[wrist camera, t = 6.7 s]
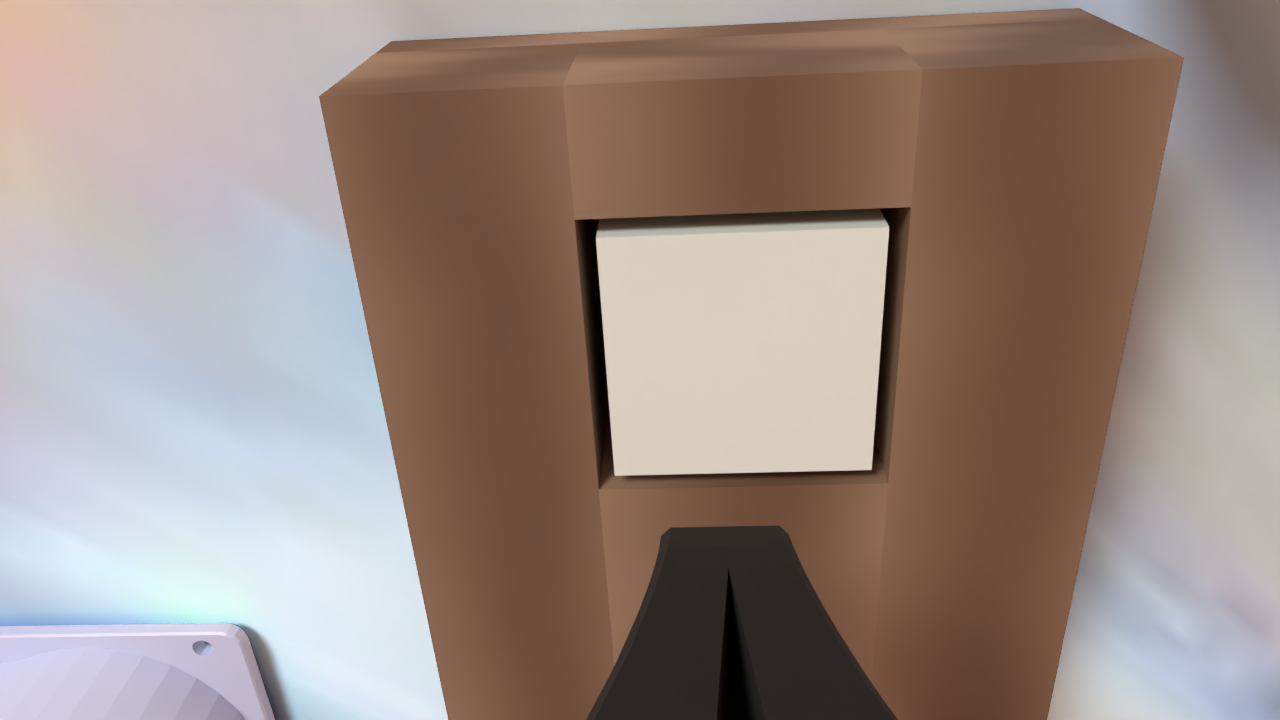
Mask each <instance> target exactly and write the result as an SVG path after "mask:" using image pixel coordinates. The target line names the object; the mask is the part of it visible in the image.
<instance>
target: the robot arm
mask: <svg viewBox="0 0 1280 720" xmlns="http://www.w3.org/2000/svg"><path fill="white" fill-rule="evenodd" d="M203 641H205V642H207V643H209V644H206V643H205V642H203ZM210 644H211V645H210ZM0 720H275V718H274V715H273V712H272V708H271V705H270V702H269V699H268V696H267V693H266V690H265V687H264V684H263V681H262V678H261V675H260V672H259V669H258V666H257V663H256V660H255V657H254V653H253V650H252V647H251V644H250V641H249V638H248V636H247V635H246V633H245V632H244V631H243V630H242V629H241V628H240V627H238V626H236V625H233V624H228V623H188V624H118V625H48V626H0ZM586 720H898V719H897V718H896V716H895V715H894V713H893V712H892V711H891V709H890V708H889V707H888V705H887V704H886V703H885V701H884V700H883V698H882V697H881V696H880V694H879V693H878V691H877V690H876V688H875V687H874V686H873V684H872V683H871V681H870V680H869V678H868V677H867V675H866V674H865V672H864V671H863V669H862V668H861V666H860V665H859V663H858V662H857V660H856V658H855V657H854V655H853V654H852V652H851V651H850V649H849V647H848V646H847V644H846V643H845V641H844V640H843V638H842V636H841V635H840V633H839V632H838V630H837V629H836V627H835V625H834V624H833V622H832V620H831V618H830V617H829V615H828V613H827V612H826V610H825V608H824V606H823V605H822V603H821V601H820V599H819V597H818V595H817V594H816V592H815V590H814V588H813V586H812V585H811V583H810V581H809V579H808V577H807V575H806V573H805V571H804V569H803V567H802V565H801V563H800V560H799V558H798V556H797V554H796V551H795V549H794V547H793V544H792V542H791V539H790V536H789V534H788V533H787V532H786V531H785V530H784V529H783V528H781V527H780V526H779V525H778V526H724V527H671V528H670V529H668V530H667V531H666V532H665V533H664V534H663V535H661V539H660V546H659V551H658V555H657V559H656V563H655V566H654V570H653V573H652V576H651V579H650V582H649V585H648V588H647V591H646V593H645V596H644V599H643V601H642V604H641V607H640V609H639V612H638V614H637V616H636V619H635V621H634V623H633V626H632V628H631V630H630V632H629V635H628V637H627V639H626V641H625V644H624V646H623V648H622V650H621V653H620V655H619V657H618V659H617V661H616V664H615V666H614V668H613V670H612V672H611V674H610V676H609V678H608V679H607V681H606V683H605V685H604V687H603V689H602V691H601V693H600V694H599V696H598V698H597V700H596V702H595V704H594V706H593V708H592V710H591V711H590V713H589V715H588V717H587V719H586Z"/></svg>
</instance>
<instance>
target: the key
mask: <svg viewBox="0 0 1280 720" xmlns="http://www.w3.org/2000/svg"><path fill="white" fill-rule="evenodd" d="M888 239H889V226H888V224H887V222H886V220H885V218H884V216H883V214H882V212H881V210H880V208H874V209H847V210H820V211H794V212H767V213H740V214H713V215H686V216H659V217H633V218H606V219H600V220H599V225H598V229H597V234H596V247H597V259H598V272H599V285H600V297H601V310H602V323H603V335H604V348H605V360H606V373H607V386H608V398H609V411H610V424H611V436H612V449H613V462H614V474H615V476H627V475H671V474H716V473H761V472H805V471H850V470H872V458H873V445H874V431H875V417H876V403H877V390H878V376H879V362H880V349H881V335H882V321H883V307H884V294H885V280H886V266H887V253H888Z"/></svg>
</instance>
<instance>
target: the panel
mask: <svg viewBox="0 0 1280 720" xmlns="http://www.w3.org/2000/svg"><path fill="white" fill-rule="evenodd" d="M1183 59H1184V57H1182V56H1180V55H1177V54H1175V53H1173V52H1171V51H1169V50H1167V49H1165V48H1162V47H1160V46H1158V45H1156V44H1154V43H1152V42H1150V41H1148V40H1145V39H1143V38H1141V37H1139V36H1137V35H1135V34H1133V33H1131V32H1128V31H1126V30H1124V29H1122V28H1120V27H1118V26H1116V25H1114V24H1111V23H1109V22H1107V21H1105V20H1103V19H1101V18H1099V17H1096V16H1094V15H1092V14H1090V13H1088V12H1086V11H1084V10H1082V9H1079V8H1076V9H1056V10H1035V11H1014V12H993V13H972V14H952V15H931V16H910V17H889V18H868V19H848V20H827V21H806V22H785V23H764V24H744V25H723V26H702V27H681V28H660V29H640V30H619V31H598V32H577V33H556V34H536V35H515V36H494V37H473V38H452V39H432V40H411V41H391V42H390V43H389V44H387V45H386V46H385V47H383V48H382V49H381V50H379V51H378V52H377V53H375V54H374V55H373V56H371V57H370V58H369V59H368V60H366V61H365V62H364V63H362V64H361V65H360V66H358V67H357V68H356V69H354V70H353V71H352V72H351V73H349V74H348V75H347V76H345V77H344V78H343V79H341V80H340V81H339V82H337V83H336V84H335V85H333V86H332V87H331V88H330V89H328V90H327V91H326V92H324V93H323V94H322V95H320V96H319V98H320V103H321V108H322V113H323V117H324V122H325V127H326V132H327V137H328V142H329V146H330V151H331V156H332V161H333V166H334V170H335V175H336V180H337V185H338V190H339V195H340V199H341V204H342V209H343V214H344V219H345V224H346V228H347V233H348V238H349V243H350V248H351V252H352V257H353V262H354V267H355V272H356V277H357V281H358V286H359V291H360V296H361V301H362V305H363V310H364V315H365V320H366V325H367V330H368V334H369V339H370V344H371V349H372V354H373V358H374V363H375V368H376V373H377V378H378V383H379V387H380V392H381V397H382V402H383V407H384V411H385V416H386V421H387V426H388V431H389V436H390V440H391V445H392V450H393V455H394V460H395V465H396V469H397V474H398V479H399V484H400V489H401V493H402V498H403V503H404V508H405V513H406V518H407V522H408V527H409V532H410V537H411V542H412V546H413V551H414V556H415V561H416V566H417V571H418V575H419V580H420V585H421V590H422V595H423V599H424V604H425V609H426V614H427V619H428V624H429V628H430V633H431V638H432V643H433V648H434V652H435V657H436V662H437V667H438V672H439V677H440V681H441V686H442V691H443V696H444V701H445V705H446V710H447V715H448V720H586V719H587V717H588V715H589V713H590V711H591V710H592V708H593V706H594V704H595V702H596V700H597V698H598V696H599V694H600V693H601V691H602V689H603V687H604V685H605V683H606V681H607V679H608V678H609V676H610V674H611V672H612V670H613V668H614V666H615V664H616V661H617V659H618V657H619V655H620V653H621V650H622V648H623V646H624V644H625V641H626V639H627V637H628V635H629V632H630V630H631V628H632V626H633V623H634V621H635V619H636V616H637V614H638V612H639V609H640V607H641V604H642V601H643V599H644V596H645V593H646V591H647V588H648V585H649V582H650V579H651V576H652V573H653V570H654V566H655V563H656V559H657V555H658V551H659V546H660V539H661V535H663V534H664V533H665V532H666V531H667V530H668V529H670V528H671V527H724V526H778V525H779V526H780V527H781V528H783V529H784V530H785V531H786V532H787V533H788V534H789V536H790V539H791V542H792V544H793V547H794V549H795V551H796V554H797V556H798V558H799V560H800V563H801V565H802V567H803V569H804V571H805V573H806V575H807V577H808V579H809V581H810V583H811V585H812V586H813V588H814V590H815V592H816V594H817V595H818V597H819V599H820V601H821V603H822V605H823V606H824V608H825V610H826V612H827V613H828V615H829V617H830V618H831V620H832V622H833V624H834V625H835V627H836V629H837V630H838V632H839V633H840V635H841V636H842V638H843V640H844V641H845V643H846V644H847V646H848V647H849V649H850V651H851V652H852V654H853V655H854V657H855V658H856V660H857V662H858V663H859V665H860V666H861V668H862V669H863V671H864V672H865V674H866V675H867V677H868V678H869V680H870V681H871V683H872V684H873V686H874V687H875V688H876V690H877V691H878V693H879V694H880V696H881V697H882V698H883V700H884V701H885V703H886V704H887V705H888V707H889V708H890V709H891V711H892V712H893V713H894V715H895V716H896V718H897V719H898V720H1047V717H1048V712H1049V707H1050V702H1051V697H1052V692H1053V687H1054V683H1055V678H1056V673H1057V668H1058V663H1059V658H1060V654H1061V649H1062V644H1063V639H1064V634H1065V629H1066V625H1067V620H1068V615H1069V610H1070V605H1071V600H1072V596H1073V591H1074V586H1075V581H1076V576H1077V571H1078V567H1079V562H1080V557H1081V552H1082V547H1083V542H1084V538H1085V533H1086V528H1087V523H1088V518H1089V513H1090V509H1091V504H1092V499H1093V494H1094V489H1095V484H1096V480H1097V475H1098V470H1099V465H1100V460H1101V455H1102V450H1103V446H1104V441H1105V436H1106V431H1107V426H1108V421H1109V417H1110V412H1111V407H1112V402H1113V397H1114V392H1115V388H1116V383H1117V378H1118V373H1119V368H1120V363H1121V359H1122V354H1123V349H1124V344H1125V339H1126V334H1127V330H1128V325H1129V320H1130V315H1131V310H1132V305H1133V301H1134V296H1135V291H1136V286H1137V281H1138V276H1139V272H1140V267H1141V262H1142V257H1143V252H1144V247H1145V243H1146V238H1147V233H1148V228H1149V223H1150V218H1151V213H1152V209H1153V204H1154V199H1155V194H1156V189H1157V184H1158V180H1159V175H1160V170H1161V165H1162V160H1163V155H1164V151H1165V146H1166V141H1167V136H1168V131H1169V126H1170V122H1171V117H1172V112H1173V107H1174V102H1175V97H1176V93H1177V88H1178V83H1179V78H1180V73H1181V68H1182V64H1183ZM874 208H880V210H881V212H882V214H883V216H884V218H885V220H886V222H887V224H888V226H889V239H888V253H887V266H886V280H885V294H884V307H883V321H882V335H881V349H880V362H879V376H878V390H877V403H876V417H875V431H874V445H873V458H872V470H850V471H805V472H761V473H716V474H671V475H627V476H615V474H614V462H613V449H612V436H611V424H610V411H609V398H608V386H607V373H606V360H605V348H604V335H603V323H602V310H601V297H600V285H599V272H598V259H597V247H596V234H597V229H598V225H599V220H600V219H606V218H633V217H659V216H686V215H713V214H740V213H767V212H794V211H820V210H847V209H874Z"/></svg>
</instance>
